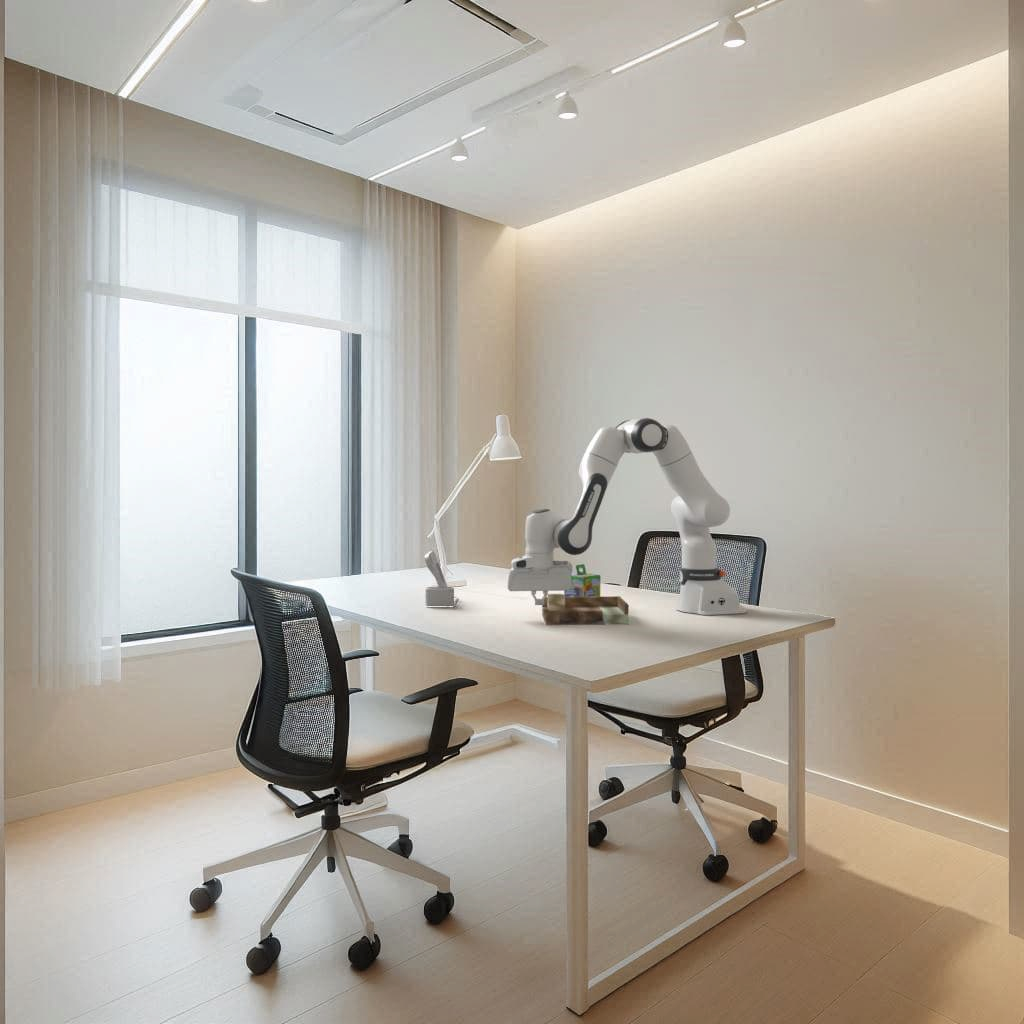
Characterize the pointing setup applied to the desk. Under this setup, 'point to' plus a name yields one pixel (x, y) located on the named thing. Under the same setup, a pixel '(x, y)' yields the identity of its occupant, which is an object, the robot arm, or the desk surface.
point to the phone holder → (442, 592)
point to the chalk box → (584, 584)
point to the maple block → (556, 602)
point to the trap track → (588, 611)
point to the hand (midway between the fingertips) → (539, 604)
